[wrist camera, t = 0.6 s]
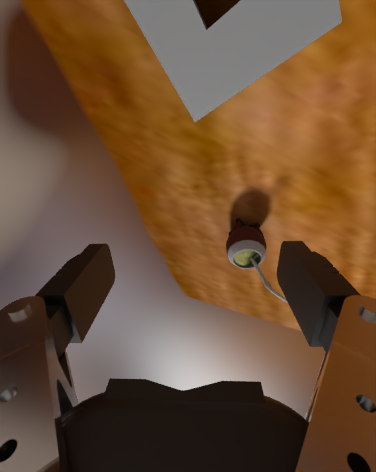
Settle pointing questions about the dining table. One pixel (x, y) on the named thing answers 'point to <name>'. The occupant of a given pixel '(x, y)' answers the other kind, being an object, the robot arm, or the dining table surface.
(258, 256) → the mate gourd
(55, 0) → the dining table surface
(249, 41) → the socket block
